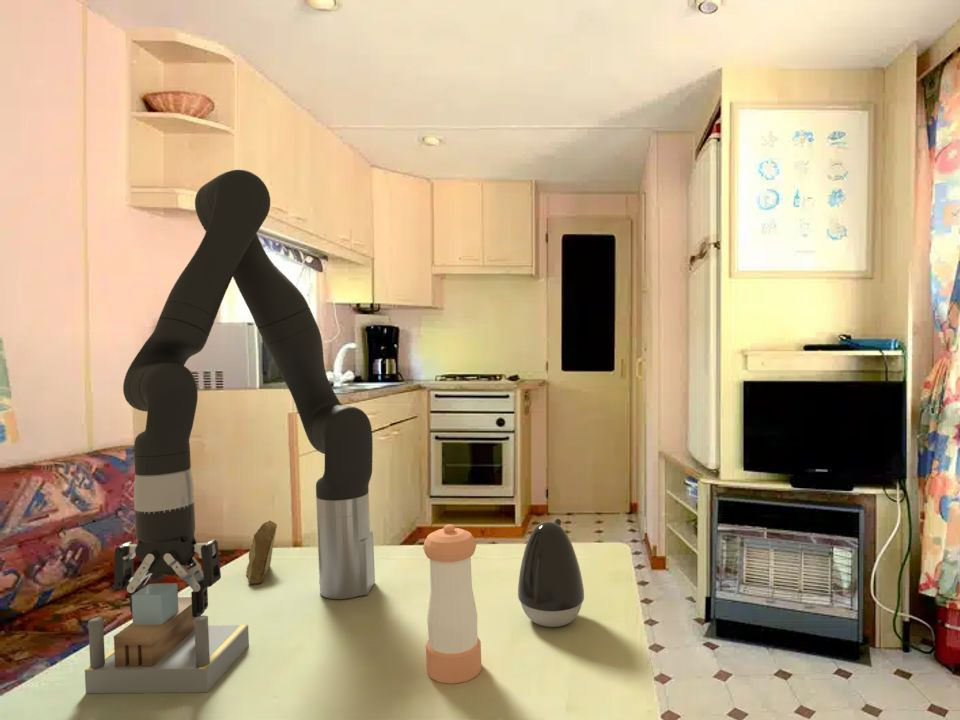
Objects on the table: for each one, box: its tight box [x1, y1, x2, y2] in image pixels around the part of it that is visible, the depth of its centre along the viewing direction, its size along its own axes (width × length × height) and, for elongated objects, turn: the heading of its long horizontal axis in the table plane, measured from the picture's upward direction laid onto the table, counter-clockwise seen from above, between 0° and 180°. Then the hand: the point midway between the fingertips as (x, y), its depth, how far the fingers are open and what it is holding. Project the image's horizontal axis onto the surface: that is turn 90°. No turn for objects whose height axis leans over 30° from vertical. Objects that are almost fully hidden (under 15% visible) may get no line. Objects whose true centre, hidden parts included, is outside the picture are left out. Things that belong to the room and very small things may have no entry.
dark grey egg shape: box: [517, 518, 585, 628], centre depth 92 cm, size 10×10×15 cm
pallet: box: [113, 596, 196, 667], centre depth 82 cm, size 12×5×4 cm, turn 177°
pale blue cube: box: [131, 582, 179, 625], centre depth 81 cm, size 4×4×4 cm
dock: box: [84, 615, 250, 694], centre depth 81 cm, size 16×12×9 cm
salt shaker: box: [422, 523, 483, 684], centre depth 78 cm, size 7×7×19 cm
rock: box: [245, 520, 278, 585], centre depth 115 cm, size 11×9×10 cm
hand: (169, 615), depth 84 cm, fingers open, 8 cm apart
